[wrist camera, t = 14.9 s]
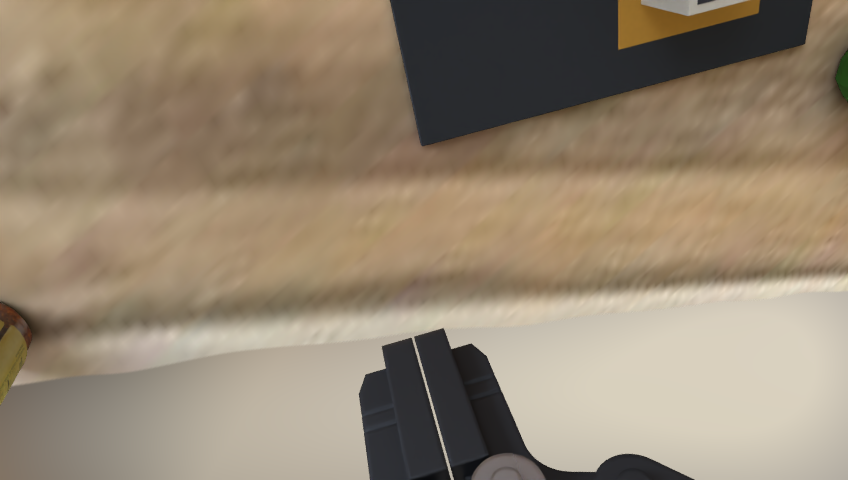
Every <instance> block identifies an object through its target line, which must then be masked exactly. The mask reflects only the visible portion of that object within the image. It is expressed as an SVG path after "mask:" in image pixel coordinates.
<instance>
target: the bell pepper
mask: <svg viewBox="0 0 848 480" xmlns="http://www.w3.org/2000/svg"><path fill="white" fill-rule="evenodd" d="M835 79H836V81H837V84H838V86H839V88H840V91H841V93H842V95H843V97H844V98H845V99H846V100H847V102H848V50H847V52H846V53H845V54H844V56H843V57H842V59H841V61H840V64H839V68H838V71H837V74H836V77H835Z"/></svg>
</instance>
